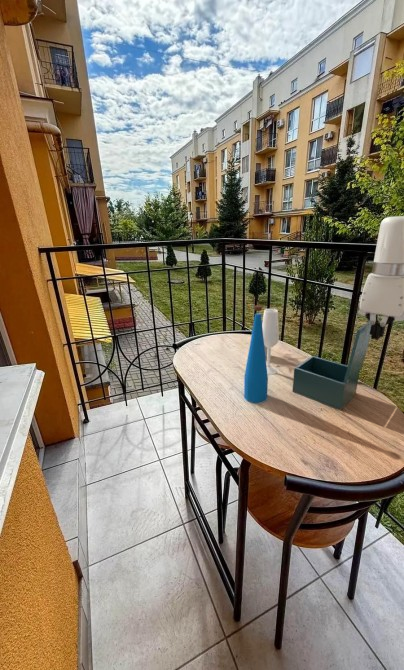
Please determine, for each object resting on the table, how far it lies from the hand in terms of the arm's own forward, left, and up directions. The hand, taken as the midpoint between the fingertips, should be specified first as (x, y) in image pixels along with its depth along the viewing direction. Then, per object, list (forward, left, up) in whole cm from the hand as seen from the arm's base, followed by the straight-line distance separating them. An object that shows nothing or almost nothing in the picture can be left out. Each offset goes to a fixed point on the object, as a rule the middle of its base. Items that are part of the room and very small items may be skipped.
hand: (375, 338), depth 76 cm
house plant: (+43, -12, -22) cm, 50 cm away
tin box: (+12, 0, -22) cm, 25 cm away
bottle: (+27, +17, -22) cm, 39 cm away
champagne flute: (+34, -1, -22) cm, 41 cm away
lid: (+4, 0, -5) cm, 6 cm away
